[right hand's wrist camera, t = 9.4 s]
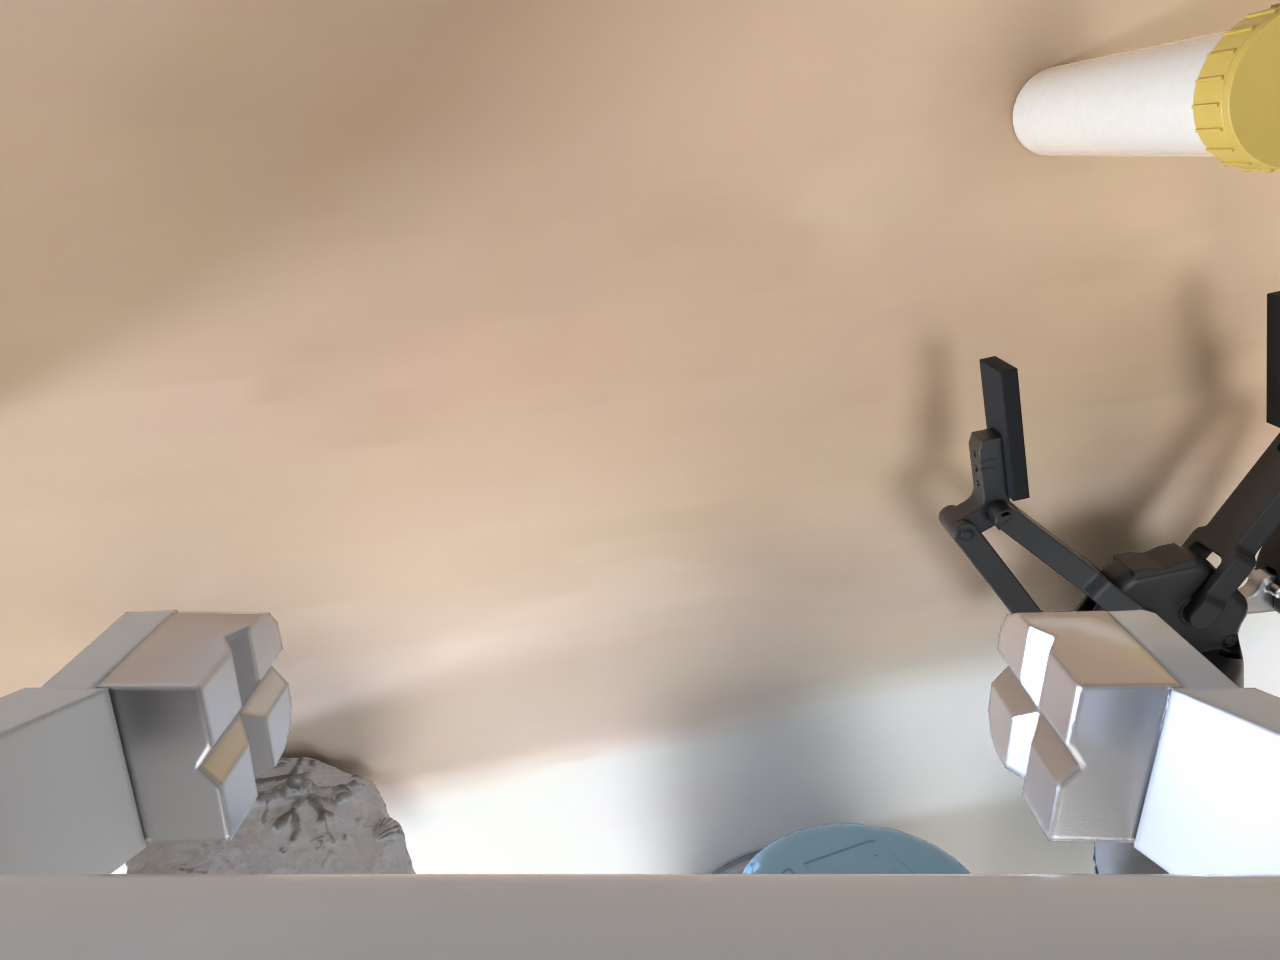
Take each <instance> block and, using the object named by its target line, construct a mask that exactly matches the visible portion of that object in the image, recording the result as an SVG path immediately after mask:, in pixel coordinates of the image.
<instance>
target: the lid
mask: <svg viewBox="0 0 1280 960" xmlns="http://www.w3.org/2000/svg"><path fill="white" fill-rule="evenodd" d="M1206 57H1207V59H1206V61H1205V62H1204V64H1203V66H1202V68H1201V71H1200V73H1199V76H1198V79H1196V81H1195V83H1196V86H1195V90H1194V97H1193V105H1192V109H1193V116H1194V122H1195V126H1196V130H1195V132H1196V133H1198V135H1199V137H1200V139H1201V141H1202V142H1203V144H1204V145H1205V147H1206V148H1207V149H1206V151H1207V152H1210V153H1211V154H1213V155H1214V156H1215V157H1216V158H1217V159H1219V160H1221V161H1222V162H1223V163H1222V164H1223V165H1231V166H1234V167H1238V168H1244V169H1243V171H1252V172H1273V170H1280V3H1279V4H1275V5H1271V8H1270V9H1267V10H1264V11H1260V12H1257V13H1252V14H1248V15H1247V16H1246V19H1244V20H1243V21H1241V22H1240V23H1238V24H1237V25H1236V26H1234V27H1233V28H1232V29H1231V30H1229V31H1226V32H1225V33H1224V36H1223V37H1222V38H1221V39H1220V41H1219V42H1218V43H1217V44H1216V45H1215V47H1214V48H1213V49H1212V51H1211V52H1210V53H1209V54H1207V56H1206Z"/></svg>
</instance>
